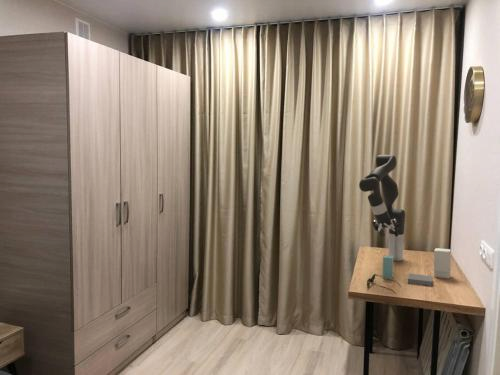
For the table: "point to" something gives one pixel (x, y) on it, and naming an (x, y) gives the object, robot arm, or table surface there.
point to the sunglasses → (375, 284)
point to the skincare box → (442, 263)
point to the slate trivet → (420, 279)
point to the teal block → (387, 267)
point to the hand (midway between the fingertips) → (390, 236)
